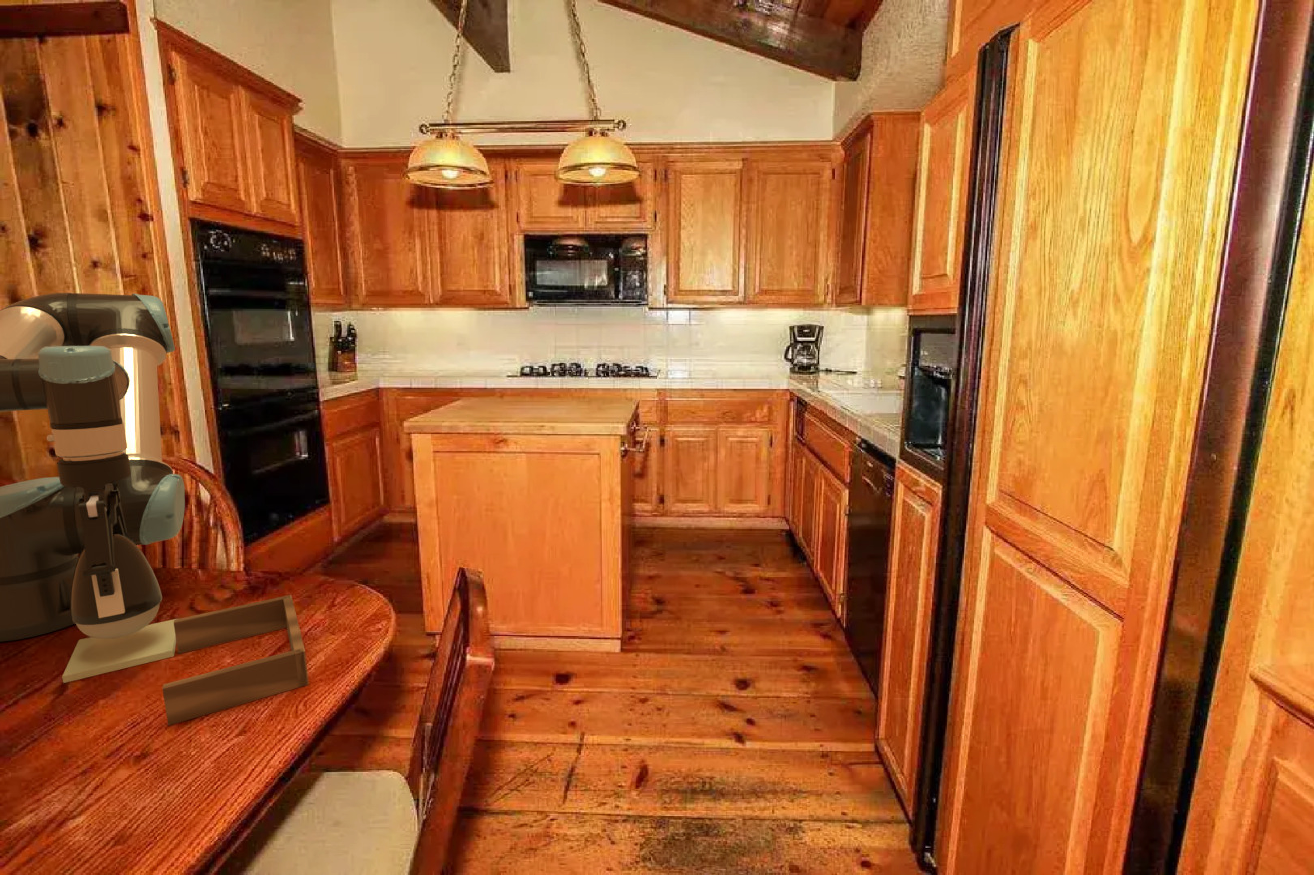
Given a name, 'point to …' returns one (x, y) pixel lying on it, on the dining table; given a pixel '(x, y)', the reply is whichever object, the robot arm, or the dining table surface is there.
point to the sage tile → (121, 651)
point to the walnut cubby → (241, 679)
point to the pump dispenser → (136, 592)
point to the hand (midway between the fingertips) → (117, 600)
